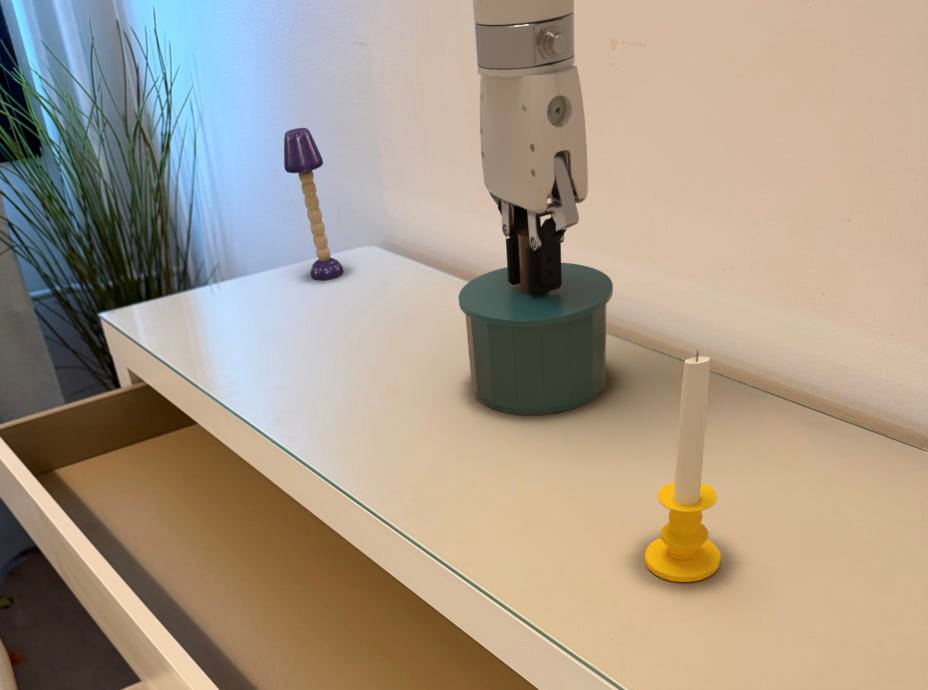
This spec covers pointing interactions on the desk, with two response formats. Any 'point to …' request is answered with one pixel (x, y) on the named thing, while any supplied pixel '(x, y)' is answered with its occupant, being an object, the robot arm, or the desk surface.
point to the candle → (687, 491)
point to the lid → (518, 308)
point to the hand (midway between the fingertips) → (534, 284)
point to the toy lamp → (310, 196)
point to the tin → (538, 364)
